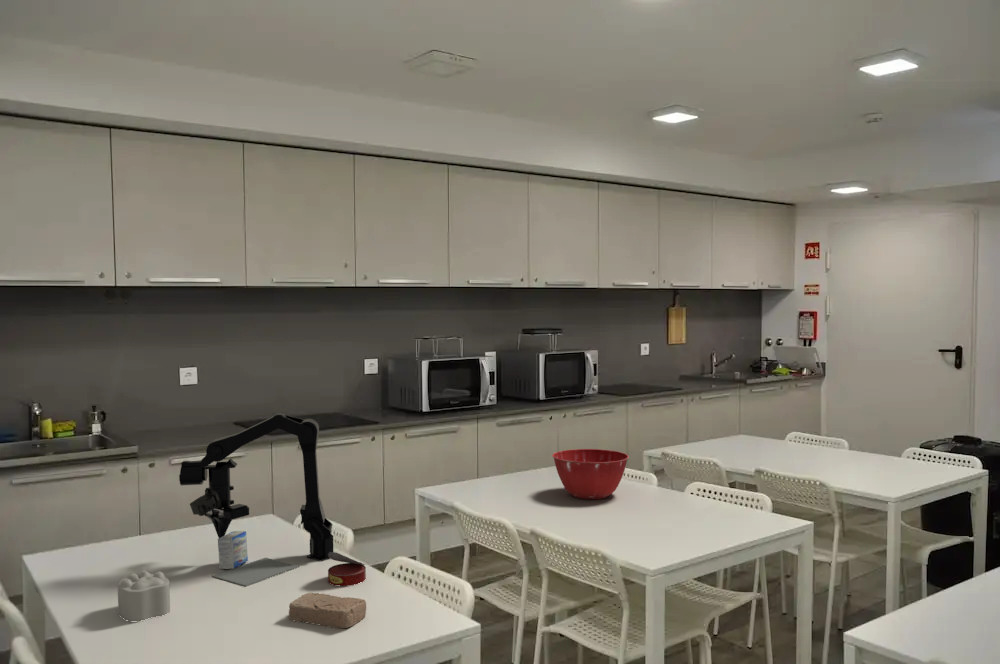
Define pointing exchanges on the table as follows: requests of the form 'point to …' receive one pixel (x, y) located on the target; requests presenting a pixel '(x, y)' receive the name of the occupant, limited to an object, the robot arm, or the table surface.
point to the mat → (255, 571)
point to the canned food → (345, 571)
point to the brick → (327, 610)
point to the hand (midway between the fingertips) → (221, 538)
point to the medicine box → (232, 550)
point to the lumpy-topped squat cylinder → (143, 596)
